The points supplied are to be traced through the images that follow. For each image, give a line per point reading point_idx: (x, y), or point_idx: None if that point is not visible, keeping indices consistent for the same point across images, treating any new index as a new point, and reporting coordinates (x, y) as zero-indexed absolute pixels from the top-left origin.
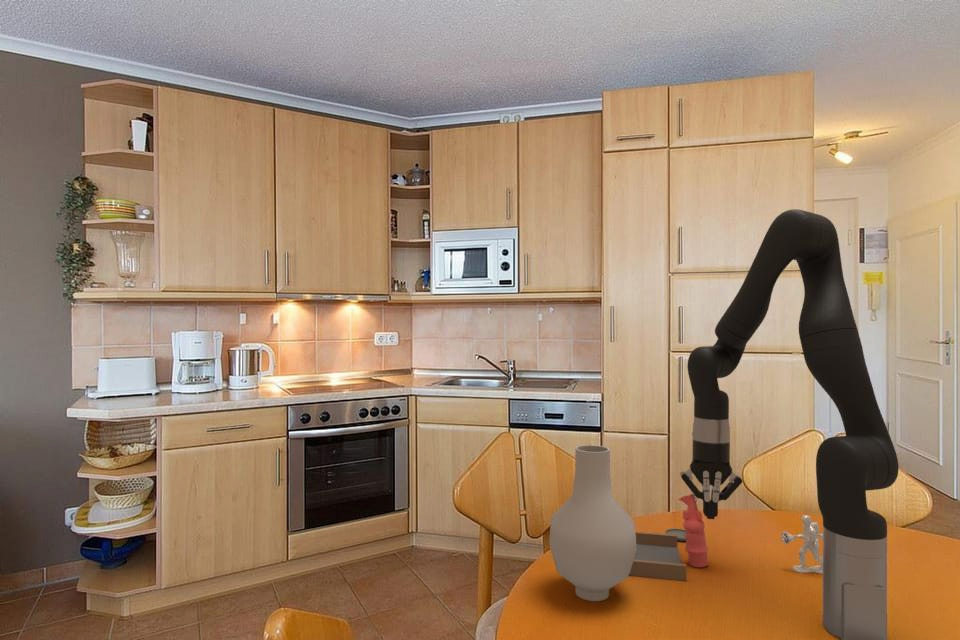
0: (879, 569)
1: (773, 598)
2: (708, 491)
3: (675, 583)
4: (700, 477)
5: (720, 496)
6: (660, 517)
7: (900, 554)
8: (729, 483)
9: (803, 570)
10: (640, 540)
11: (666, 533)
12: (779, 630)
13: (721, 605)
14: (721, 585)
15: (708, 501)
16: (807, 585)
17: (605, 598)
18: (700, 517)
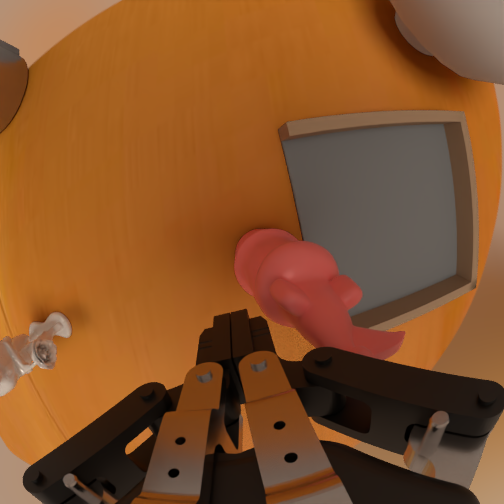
0: None
1: (83, 138)
2: (256, 401)
3: (300, 105)
4: (359, 477)
5: (175, 404)
6: (345, 444)
7: (10, 416)
8: (122, 489)
9: (51, 316)
10: (401, 303)
11: None
12: (92, 19)
13: (187, 43)
14: (190, 144)
15: (248, 356)
16: (37, 250)
17: (395, 13)
18: (278, 282)
